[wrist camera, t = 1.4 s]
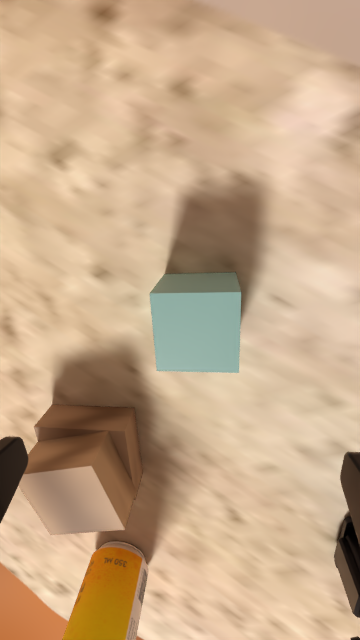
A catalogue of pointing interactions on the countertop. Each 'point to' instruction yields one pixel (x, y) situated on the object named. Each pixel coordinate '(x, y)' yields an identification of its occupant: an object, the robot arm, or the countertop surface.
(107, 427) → the slab lower
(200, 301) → the teal cube
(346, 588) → the robot arm
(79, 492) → the slab upper
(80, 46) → the countertop surface
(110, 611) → the beer can
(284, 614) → the countertop surface
